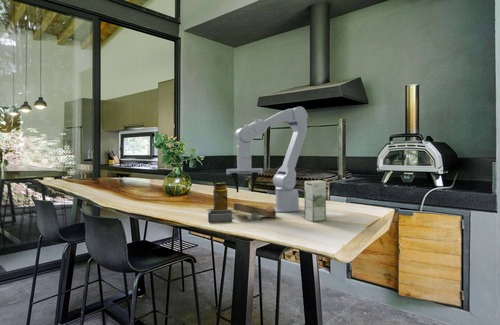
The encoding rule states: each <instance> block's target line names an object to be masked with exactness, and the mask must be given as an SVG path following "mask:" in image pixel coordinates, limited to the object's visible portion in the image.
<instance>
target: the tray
mask: <svg viewBox="0 0 500 325" xmlns="http://www.w3.org/2000/svg"><path fill="white" fill-rule="evenodd" d="M211 209H212V208H209V211H208V213H207V215H208V216H207V218H208V223H225V222H226V223H229V222H232V209H229V210H211Z"/></svg>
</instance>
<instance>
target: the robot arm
mask: <svg viewBox="0 0 500 325" xmlns="http://www.w3.org/2000/svg"><path fill="white" fill-rule="evenodd" d="M308 118H309V114H308V112H307V110H306V109H305V107H303V106H296V107H293V108H287V109H284V110H281V111H279V112H277V113H275V114H273V115H272V116H270V117H268V118H266V119H261V118H255V119H254V120H253V122H251V123H249V124H245V125H244V127H241V128H238V129H236V131H235V132H234V136H233V138H234V140H235V141H236V166H237V168H226V172H225V174H226V175H231V177H232V180H233V182H234V186H235V189H236V193H239V176H238V175H246V174H251V175H250V179H251V180H250V181H251V183H250V184H251V185H250V186H251V187H250V192H254V188H255V184H256V182H257V179H258V177H259V174H263V173H264V171H263V170H264V169H263V168H262V167H259V168H258V167H257V168H256V167H254V168H253V167H252V141H253V140H254V138H257V137H259V136H260V135H262V134H264V133H266V132H267V130H268V128H269V127H272V126H273V125H276V124H278V123H280V122H285V123H286V124H287V125H288V126H289V127H290V128H291V130H292V131H293V132H292V135H291V138H290V141H289V144H288V148H287V150H286V154H285V157H284V158H283V162H282V165H281V166H280V167H279V168H278V169H277V172H276V173H275V174H274V175H273V177H272V184H273V186H274V187H275V206H274V207H273V208H274V210H275V211H276V213H288V212H289V213H290V212H292V213H293V212H300V210H299V209H300V207H299V205H300V204H299V201H300V200H299V198H300V197H299V191H298V189H294V188H295V186H296V183H297V182H296V181H297V179H296V177H297V171H296V166H297V162H298V159H299V157H300V153H301V151H302V148H303V144H304V142H305V138H306V135H307V132H308V122H307V121H308Z"/></svg>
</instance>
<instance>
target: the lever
mask: <svg viewBox="0 0 500 325" xmlns="http://www.w3.org/2000/svg"><path fill="white" fill-rule="evenodd" d="M232 207H233V208H232V209H233V211H236V212H242V213H246V214H247V213H248V214H250V215H251V214H253V212H257V215H260V217H266V218H267V217H268V218H271V219H276V215H277V212H276V210H275V209H274V212H273V213H272V212H267V211H266V208H261V207H257V206H252V205H246V204H242V203H240V202H239V203H238V202H233V204H232Z"/></svg>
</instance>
